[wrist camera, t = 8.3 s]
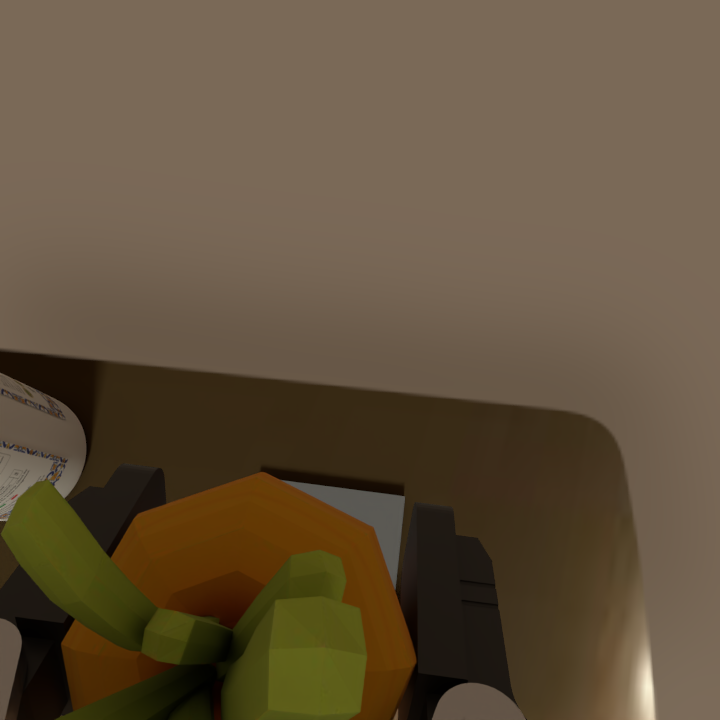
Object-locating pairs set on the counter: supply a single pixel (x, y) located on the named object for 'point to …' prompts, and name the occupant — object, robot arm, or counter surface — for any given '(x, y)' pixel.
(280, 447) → the counter surface
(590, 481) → the counter surface
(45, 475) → the bath foam
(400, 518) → the plate
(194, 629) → the carrot
